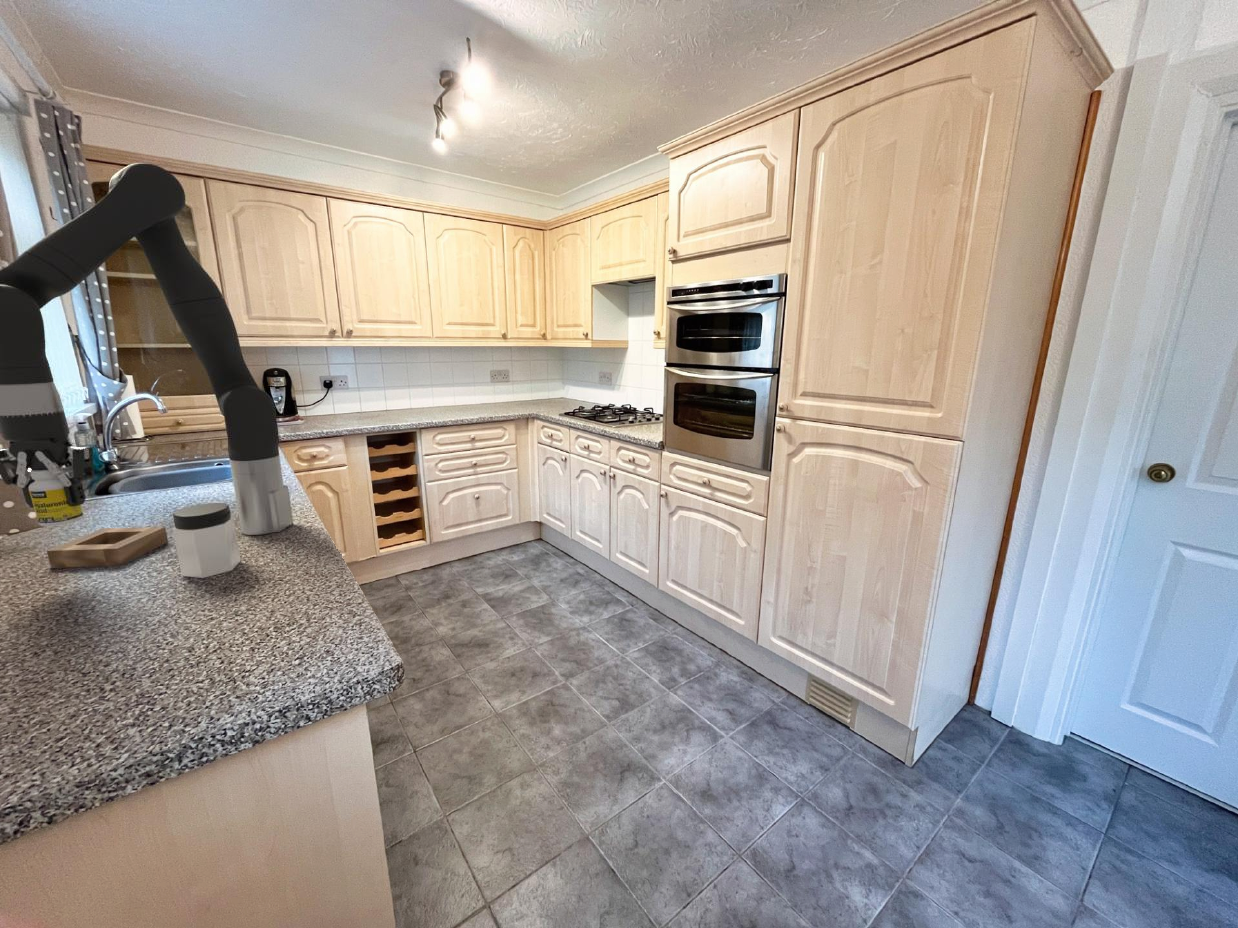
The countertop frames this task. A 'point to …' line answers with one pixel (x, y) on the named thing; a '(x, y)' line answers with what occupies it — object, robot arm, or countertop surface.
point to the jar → (205, 540)
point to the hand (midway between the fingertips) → (57, 505)
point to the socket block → (107, 547)
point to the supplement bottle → (51, 500)
